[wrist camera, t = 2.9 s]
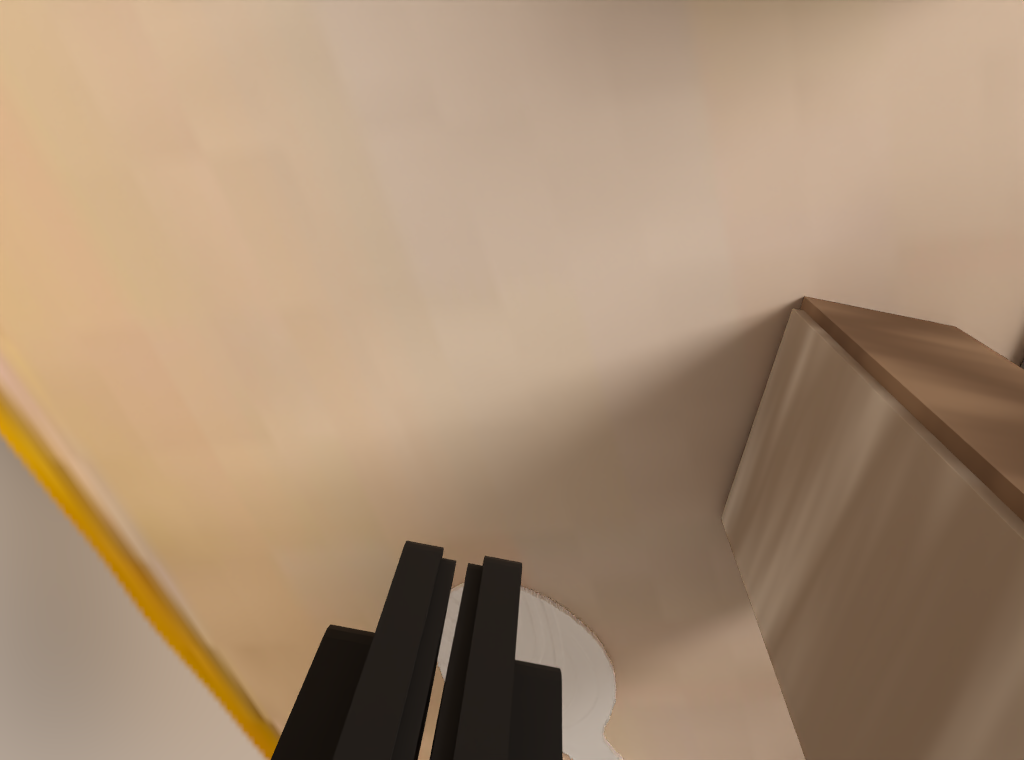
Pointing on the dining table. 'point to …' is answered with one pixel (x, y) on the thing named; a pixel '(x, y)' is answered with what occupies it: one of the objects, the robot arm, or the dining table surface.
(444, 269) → the dining table surface
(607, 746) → the spoon
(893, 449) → the walnut box
